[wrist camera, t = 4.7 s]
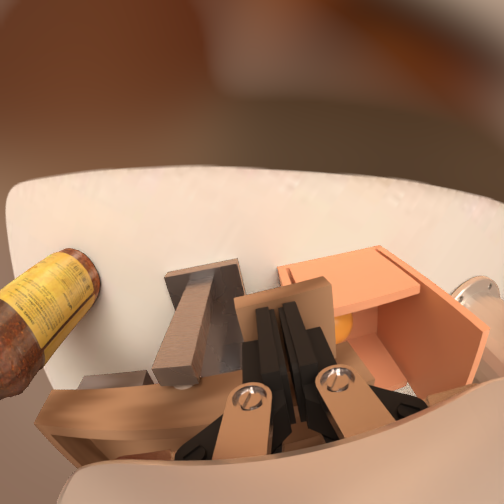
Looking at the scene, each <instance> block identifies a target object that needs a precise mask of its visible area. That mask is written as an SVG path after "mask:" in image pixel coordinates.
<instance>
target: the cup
mask: <svg viewBox="0 0 504 504" xmlns="http://www.w3.org/2000/svg"><path fill="white" fill-rule="evenodd" d="M277 268H278V274H279V279H280V285H281V287H282V286H286V285H290V284H294V283H298V282H301V281H305V280H309V279H313V278H317V277H320V276H324V277H325V278H326V279H327V280H328V281H329V282H330V283H331V284H332V294H333V307H334V317H337V316H341V315H345V314H349V313H352V316H353V326H352V330H351V332H350V334H349V336H348V337H347V338H346V339H345V340H344V341H343V342H345V341H348V343H349V344H350V345H351V347H352V348H353V349H354V351H355V352H356V354H357V355H358V356H359V358H360V359H361V360H362V362H363V363H364V364H365V366H366V367H367V369H368V370H369V371H370V373H371V374H372V376H373V377H374V378H375V383H374V386H375V387H379V388H383V389H387V390H390V391H394V390H396V389H399V388H402V387H404V386H406V384H407V382H408V383H409V385H410V386H411V388H412V389H413V391H414V393H415V394H416V396H417V397H418V398H420V399H422V400H423V399H426V398H427V396H428V395H432V394H436V393H440V392H444V391H448V390H451V389H455V388H458V387H462V386H465V385H468V384H472V382H473V379H474V377H475V374H476V371H477V369H478V366H479V363H480V360H481V357H482V354H483V351H484V348H485V345H486V342H487V338H488V335H489V332H490V327H489V326H487V325H486V324H485V323H484V322H483V321H482V320H480V319H479V318H478V317H477V316H475V315H474V314H473V313H472V312H471V311H469V310H468V309H467V308H466V307H464V306H463V305H462V304H461V303H459V302H458V301H457V300H455V299H454V298H453V297H452V296H450V295H449V294H448V293H446V292H445V291H444V290H442V289H441V288H440V287H438V286H437V285H436V284H434V283H433V282H432V281H430V280H429V279H428V278H426V277H425V276H423V275H422V274H421V273H419V272H418V271H416V270H415V269H414V268H412V267H411V266H409V265H408V264H407V263H405V262H404V261H402V260H401V259H399V258H398V257H396V256H395V255H394V254H392V253H391V252H389V251H388V250H386V249H385V248H383V247H382V246H380V245H379V246H374V247H370V248H365V249H361V250H356V251H351V252H347V253H342V254H338V255H333V256H328V257H323V258H319V259H314V260H309V261H304V262H299V263H295V264H290V265H285V266H280V267H277ZM341 343H342V342H341Z"/></svg>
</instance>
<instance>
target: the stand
mask: <svg viewBox="0 0 504 504" xmlns="http://www.w3.org/2000/svg"><path fill="white" fill-rule="evenodd" d="M164 279H165V282H166V285H167V288H168V291H169V294H170V297H171V300H172V303H173V305H174V308H175V313H174V316H173V318H172V320H171V323H170V325H169V327H168V330H167V332H166V334H165V337H164V339H163V342H162V344H161V346H160V349H159V351H158V354H157V356H156V359H155V361H154V364H153V366H152V368H151V369H152V371H153V373H154V375H155V376H156V378H157V380H158V382H159V384H160V386H177V385H190V384H199V381H200V376H201V377H207V376H213V375H218V374H223V373H228V372H233V371H238V370H242V343H243V342H244V340H243V336H242V332H241V329H240V325H239V321H238V317H237V314H236V310H235V304H234V298H236V297H240V296H244V295H246V293H245V288H244V284H243V280H242V276H241V271H240V267H239V263H238V258H236V259H231V260H226V261H221V262H216V263H211V264H206V265H201V266H196V267H191V268H186V269H181V270H176V271H171V272H168V273H167V274H166V275H165V277H164Z"/></svg>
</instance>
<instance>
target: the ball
mask: <svg viewBox="0 0 504 504" xmlns="http://www.w3.org/2000/svg"><path fill="white" fill-rule="evenodd" d="M334 321H335V338H336V344H338V343H341V342H343V341H344V340H345V339H346V338H347V337H348V336H349V334H350V332H351V330H352V326H353V316H352V313H349V314H345V315H341V316H337V317H334Z"/></svg>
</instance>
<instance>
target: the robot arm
mask: <svg viewBox="0 0 504 504" xmlns="http://www.w3.org/2000/svg"><path fill="white" fill-rule="evenodd" d="M451 296H452V297H453V298H454V299H455V300H457V301H458V302H459V303H461V304H462V305H463V306H464V307H466V308H467V309H468V310H469V311H471V312H472V313H473V314H474V315H475V316H477V317H478V318H479V319H480V320H482V321H483V322H484V323H485V324H486V325H487V326H489V327H490V332H489V335H488V338H487V342H486V345H485V348H484V351H483V354H482V357H481V360H480V363H479V366H478V369H477V371H476V374H475V377H474V379H473V382H472V384H468V385H465V386H462V387H458V388H455V389H451V390H448V391H444V392H440V393H436V394H432V395H428V396H427V398H426V399H423V400H422V399H420V398H418V397H415V396H411V395H407V394H402V393H398V392H394V391H390V390H387V389H383V388H379V387H375V386H372V385H368V384H367V383H366V382H365V380H364V379H363V378H362V376H361V375H360V374H359V373H358V371H357V370H356V369H354V368H353V367H351V366H348V365H343V364H338V365H337V363H336V360H335V358H334V356H333V354H332V351H331V349H330V347H329V345H328V342H327V340H326V338H325V336H324V333H323V331H322V329H321V327H315V328H311V329H307V330H306V329H305V326H304V323H303V321H302V318H301V315H300V312H299V310H298V307H297V304H296V302H295V301H292V302H288V303H283V304H282V305H283V307H280V308H278V311H279V317H280V322H281V327H282V333H283V338H284V344H285V349H286V355H287V360H288V365H289V370H290V374H291V379H292V383H293V388H294V393H295V397H296V402H297V407H298V411H299V416H300V421H301V422H305V421H306V422H307V426H308V429H311V430H313V431H316V432H318V433H319V435H320V438H321V441H322V443H323V444H322V445H317V446H313V447H308V448H304V449H299V450H294V451H288V452H284V448H285V445H284V440H285V439H286V438H287V437H288V436H289V435H290V434H291V433H292V429H291V424H296V418H295V413H294V407H293V401H292V396H291V390H290V385H289V379H288V374H287V369H286V364H285V359H284V354H283V349H282V345H281V340H280V335H279V330H278V325H277V321H276V316H275V311H274V309H271V310H269V308H268V307H263V308H258V309H255V311H256V322H257V333H258V340H253V341H247V342H243V343H242V385H239V386H238V387H236V388H235V389H233V390H232V391H231V392H230V394H229V396H228V398H227V402H226V406H225V410H224V413H223V414H222V415H221V416H220V417H219V418H217V419H216V420H215V421H213V422H212V423H211V424H210V425H208V426H207V427H206V428H205V429H203V430H202V431H201V432H199V433H198V434H197V435H195V436H194V437H193V438H191V439H190V440H189V441H187V442H186V443H184V444H183V445H182V446H181V447H180V448H179V449H178V450H177V451H173V452H172V451H171V449H168V450H162V451H156V452H149V453H141V454H133V455H124V456H120V457H118V458H116V459H115V460H108V461H101V462H96V463H91V464H88V465H85V466H82V467H80V468H78V469H77V470H76V471H74V473H72V474H71V476H70V477H69V478H68V480H67V482H66V483H65V485H64V487H63V489H62V491H61V493H60V496H59V498H58V500H57V503H56V504H504V301H503V300H502V299H501V298H500V292H499V288H498V286H497V284H496V283H495V282H494V281H493V280H491V279H490V278H488V277H485V276H477V277H474V278H472V279H470V280H468V281H466V282H465V283H463V284H462V285H461V286H460V287H459V288H458V289H456V290H455V292H454V293H453V294H452V295H451Z"/></svg>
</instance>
